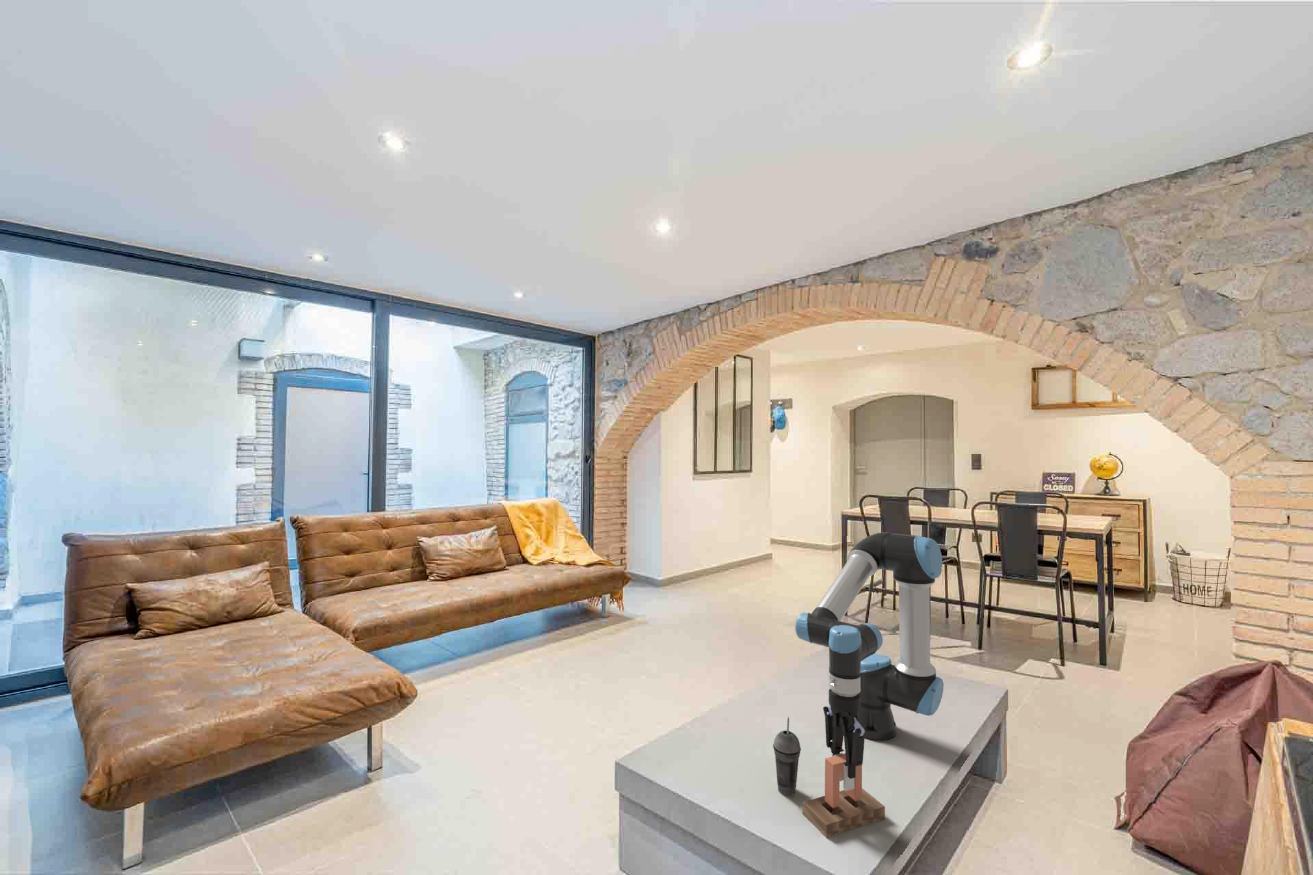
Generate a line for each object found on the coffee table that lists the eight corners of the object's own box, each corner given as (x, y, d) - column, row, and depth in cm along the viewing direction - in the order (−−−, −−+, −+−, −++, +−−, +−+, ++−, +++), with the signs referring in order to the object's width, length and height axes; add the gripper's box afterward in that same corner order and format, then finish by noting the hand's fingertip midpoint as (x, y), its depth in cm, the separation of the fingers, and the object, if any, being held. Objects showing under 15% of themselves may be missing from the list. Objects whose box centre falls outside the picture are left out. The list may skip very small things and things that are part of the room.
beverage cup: (796, 781, 155) (796, 708, 155) (804, 798, 148) (804, 722, 148) (769, 782, 155) (770, 709, 155) (776, 799, 148) (777, 722, 148)
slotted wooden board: (859, 797, 149) (859, 785, 149) (884, 818, 140) (884, 806, 140) (802, 813, 142) (802, 801, 142) (826, 837, 134) (826, 824, 134)
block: (853, 792, 144) (853, 751, 144) (861, 799, 141) (862, 757, 141) (824, 800, 141) (825, 758, 141) (832, 807, 138) (833, 764, 138)
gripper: (811, 679, 147) (810, 770, 147) (855, 707, 132) (854, 807, 132) (834, 675, 150) (834, 764, 150) (880, 701, 135) (879, 800, 135)
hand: (843, 784), depth 141 cm, fingers closed on block, 3 cm apart
